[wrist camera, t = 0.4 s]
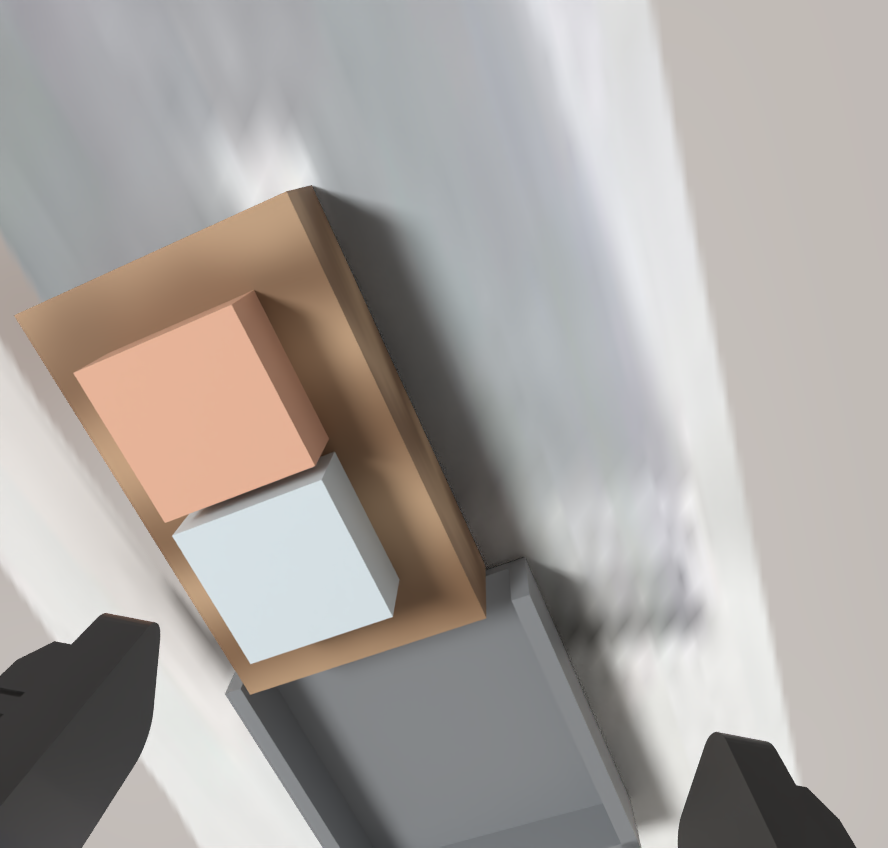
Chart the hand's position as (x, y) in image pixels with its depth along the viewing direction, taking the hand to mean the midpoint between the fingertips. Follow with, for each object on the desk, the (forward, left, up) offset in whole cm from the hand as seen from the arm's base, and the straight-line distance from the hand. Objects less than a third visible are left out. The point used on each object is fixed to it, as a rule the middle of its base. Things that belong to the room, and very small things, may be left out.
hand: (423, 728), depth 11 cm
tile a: (+3, -8, -17) cm, 19 cm away
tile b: (+8, -4, -17) cm, 19 cm away
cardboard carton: (+6, -6, -21) cm, 23 cm away
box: (+19, +5, -21) cm, 29 cm away
